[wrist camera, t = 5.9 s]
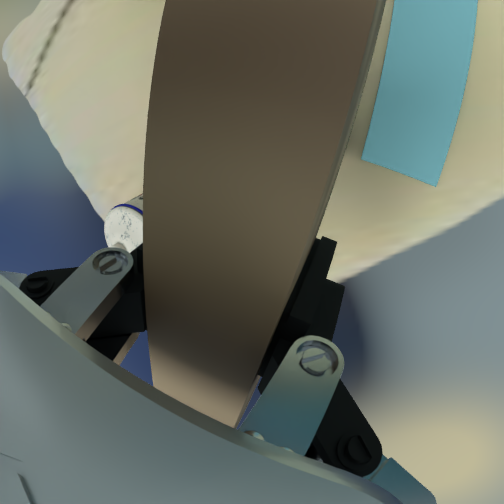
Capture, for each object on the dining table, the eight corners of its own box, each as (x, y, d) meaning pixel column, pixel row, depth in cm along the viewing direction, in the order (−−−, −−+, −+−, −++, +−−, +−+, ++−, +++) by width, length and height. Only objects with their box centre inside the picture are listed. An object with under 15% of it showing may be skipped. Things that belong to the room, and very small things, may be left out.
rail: (274, -49, 5) (201, -113, 2) (391, -27, 4) (396, -105, 1) (196, 385, 17) (162, 437, 13) (246, 408, 16) (216, 465, 13)
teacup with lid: (180, 168, 36) (114, 202, 27) (216, 231, 39) (161, 281, 30) (128, 203, 43) (69, 239, 34) (158, 255, 45) (107, 298, 36)
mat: (399, -39, 15) (399, -41, 15) (476, -10, 13) (478, -11, 13) (361, 157, 28) (360, 159, 27) (435, 185, 26) (435, 187, 25)
